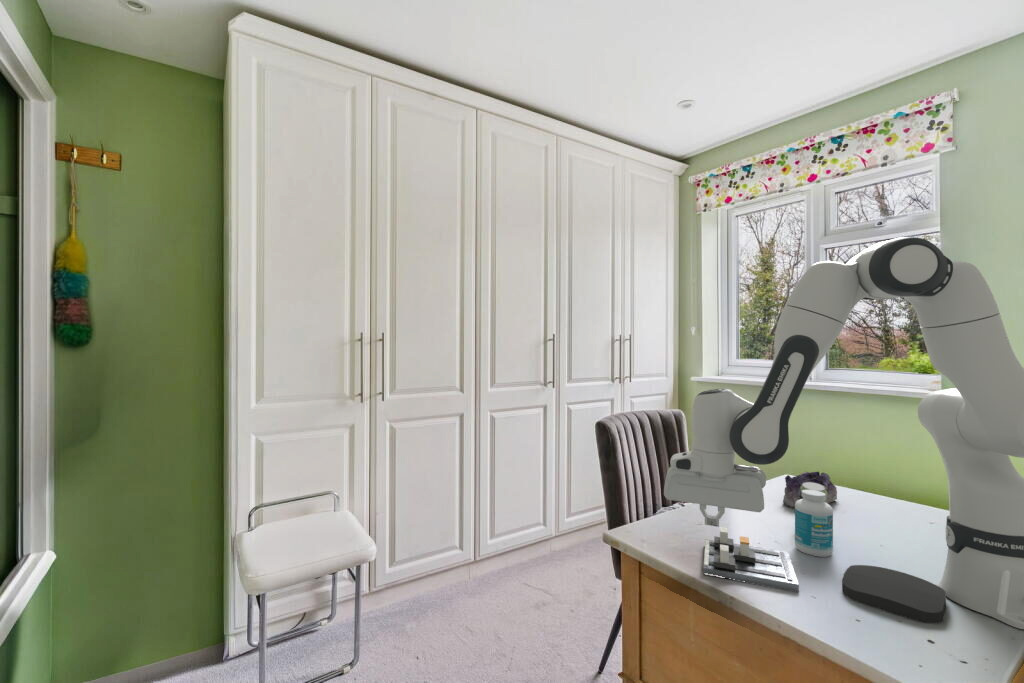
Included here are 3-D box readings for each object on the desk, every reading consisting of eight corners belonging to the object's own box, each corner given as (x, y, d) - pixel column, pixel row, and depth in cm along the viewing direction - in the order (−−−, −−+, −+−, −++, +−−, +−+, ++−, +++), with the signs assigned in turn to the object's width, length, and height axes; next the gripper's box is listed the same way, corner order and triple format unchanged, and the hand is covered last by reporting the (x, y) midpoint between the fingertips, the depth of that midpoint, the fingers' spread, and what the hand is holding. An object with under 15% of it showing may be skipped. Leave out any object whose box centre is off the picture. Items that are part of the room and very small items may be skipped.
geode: (817, 516, 130) (811, 480, 131) (775, 510, 140) (769, 476, 141) (845, 499, 142) (840, 466, 143) (804, 494, 152) (799, 463, 153)
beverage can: (817, 525, 123) (817, 479, 123) (834, 536, 116) (833, 488, 116) (792, 524, 124) (792, 479, 124) (807, 535, 117) (806, 487, 117)
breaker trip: (754, 555, 101) (754, 537, 101) (755, 563, 98) (755, 544, 98) (734, 552, 103) (733, 534, 103) (734, 559, 100) (734, 541, 100)
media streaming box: (837, 598, 88) (837, 582, 88) (853, 572, 99) (853, 557, 99) (942, 631, 78) (942, 613, 78) (947, 598, 88) (947, 582, 88)
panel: (787, 558, 104) (787, 551, 104) (798, 592, 90) (798, 583, 90) (705, 545, 111) (705, 538, 111) (703, 574, 97) (703, 566, 97)
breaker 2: (734, 562, 98) (734, 546, 98) (735, 570, 95) (735, 553, 95) (714, 559, 100) (713, 542, 100) (713, 566, 96) (713, 549, 96)
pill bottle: (815, 560, 103) (814, 498, 103) (787, 546, 110) (786, 489, 111) (841, 556, 105) (840, 495, 105) (812, 542, 112) (811, 486, 113)
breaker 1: (733, 543, 108) (733, 528, 108) (733, 549, 104) (733, 533, 104) (714, 540, 109) (714, 525, 109) (714, 546, 106) (714, 531, 106)
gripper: (764, 464, 102) (763, 528, 102) (666, 454, 110) (665, 513, 110) (767, 471, 96) (766, 538, 96) (663, 460, 104) (662, 522, 104)
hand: (711, 525), depth 103 cm, fingers closed
